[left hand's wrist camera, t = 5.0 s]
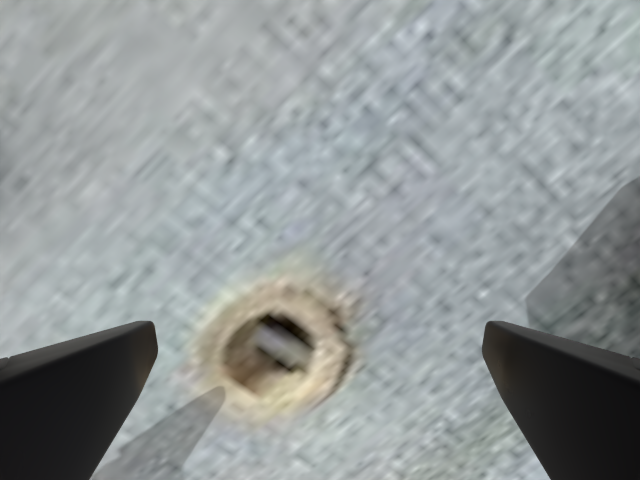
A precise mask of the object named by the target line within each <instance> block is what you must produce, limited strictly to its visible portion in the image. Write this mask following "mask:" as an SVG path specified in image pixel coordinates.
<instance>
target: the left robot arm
mask: <svg viewBox="0 0 640 480" xmlns="http://www.w3.org/2000/svg"><path fill="white" fill-rule="evenodd" d="M157 354H158V345H157V338H156V332H155V326H154V324H153V322H151V321H136V322H132V323H129V324H125V325H122V326H118V327H114V328H111V329H107V330H104V331H100V332H97V333H93V334H89V335H86V336H82V337H79V338H75V339H72V340H68V341H65V342H61V343H57V344H54V345H50V346H47V347H43V348H40V349H36V350H33V351H29V352H25V353H22V354H18V355H15V356H11V357H10V358H7V357H6V358H2V359H0V480H89V479H90V478H91V476H92V474H93V473H94V471H95V469H96V468H97V466H98V464H99V463H100V461H101V459H102V458H103V456H104V454H105V453H106V451H107V449H108V448H109V446H110V444H111V443H112V441H113V440H114V438H115V436H116V435H117V433H118V431H119V430H120V428H121V426H122V425H123V423H124V421H125V420H126V418H127V416H128V415H129V413H130V411H131V410H132V408H133V406H134V405H135V403H136V401H137V399H138V398H139V396H140V394H141V392H142V389H143V387H144V385H145V383H146V380H147V378H148V376H149V374H150V371H151V369H152V367H153V365H154V362H155V360H156V358H157ZM482 354H483V358H484V360H485V362H486V365H487V367H488V369H489V371H490V374H491V376H492V378H493V380H494V383H495V385H496V387H497V389H498V392H499V394H500V396H501V398H502V399H503V401H504V403H505V405H506V406H507V408H508V410H509V411H510V413H511V415H512V416H513V418H514V420H515V421H516V423H517V425H518V426H519V428H520V430H521V431H522V433H523V435H524V436H525V438H526V440H527V441H528V443H529V444H530V446H531V448H532V449H533V451H534V453H535V454H536V456H537V458H538V459H539V461H540V463H541V464H542V466H543V468H544V469H545V471H546V473H547V474H548V476H549V478H550V479H551V480H640V359H638V358H634V357H633V358H630V357H629V356H625V355H622V354H618V353H615V352H611V351H607V350H604V349H600V348H597V347H593V346H590V345H586V344H583V343H579V342H575V341H572V340H568V339H565V338H561V337H558V336H554V335H551V334H547V333H543V332H540V331H536V330H533V329H529V328H526V327H522V326H518V325H515V324H511V323H508V322H504V321H489V322H487V324H486V326H485V332H484V338H483V345H482Z"/></svg>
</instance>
